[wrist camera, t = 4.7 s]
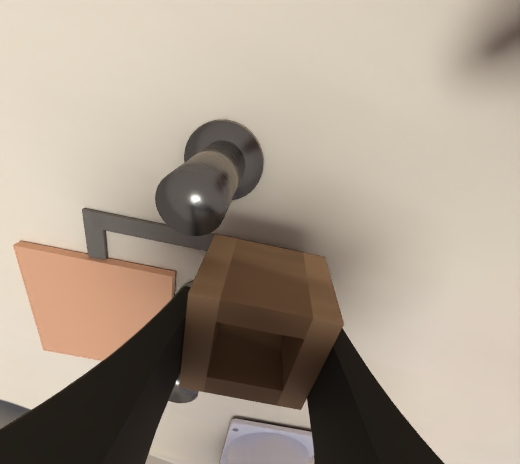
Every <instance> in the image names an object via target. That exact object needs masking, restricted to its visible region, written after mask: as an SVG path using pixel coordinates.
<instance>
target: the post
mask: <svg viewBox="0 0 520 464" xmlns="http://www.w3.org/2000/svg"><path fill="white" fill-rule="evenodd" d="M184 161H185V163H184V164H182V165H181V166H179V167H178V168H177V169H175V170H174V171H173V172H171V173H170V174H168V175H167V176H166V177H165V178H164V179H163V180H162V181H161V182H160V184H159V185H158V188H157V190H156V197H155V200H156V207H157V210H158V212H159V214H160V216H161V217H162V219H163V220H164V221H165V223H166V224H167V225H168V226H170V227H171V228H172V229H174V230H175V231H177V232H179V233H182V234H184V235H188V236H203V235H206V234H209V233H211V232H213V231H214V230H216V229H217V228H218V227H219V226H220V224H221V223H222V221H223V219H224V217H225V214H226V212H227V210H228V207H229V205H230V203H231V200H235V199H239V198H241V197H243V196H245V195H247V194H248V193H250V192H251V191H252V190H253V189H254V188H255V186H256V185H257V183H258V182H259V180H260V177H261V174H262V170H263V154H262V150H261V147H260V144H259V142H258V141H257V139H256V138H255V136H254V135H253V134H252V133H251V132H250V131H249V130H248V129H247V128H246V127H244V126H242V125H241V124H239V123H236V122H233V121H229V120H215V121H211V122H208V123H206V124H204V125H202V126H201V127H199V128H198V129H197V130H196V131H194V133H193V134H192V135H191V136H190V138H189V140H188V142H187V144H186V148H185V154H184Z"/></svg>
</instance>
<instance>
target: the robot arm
mask: <svg viewBox="0 0 520 464" xmlns="http://www.w3.org/2000/svg"><path fill="white" fill-rule="evenodd" d="M190 288H191V287H188V286H184V287H182V288H181V289H180V290H179V291H178V293H177V294H176V295H175V296H174V297H173V298H172V299H171V300H170V301H169V302H168V303H167V304H166V305H165V306H164V307H163V308H162V309H161V310H160V311H159V312H158V313H157V314H156V315H155V316H154V317H153V318H152V319H151V320H150V321H149V322H148V323H147V324H146V325H145V326H144V327H143V328H141V329H140V330H139V331H138V332H137V333H136V334H135V335H133V336H132V337H131V338H130V339H129V340H128V341H126V342H125V343H124V344H123V345H122V346H121V347H119V348H118V349H117V350H116V351H114V352H113V353H112V354H111V355H110V356H108V357H107V358H106V359H104V360H103V361H102V362H100V363H99V364H98V365H96V366H95V367H94V368H92V369H91V370H90V371H88V372H87V373H86V374H84V375H83V376H81V377H80V378H79V379H77V380H76V381H74V382H73V383H71V384H70V385H69V386H67V387H66V388H64V389H63V390H61V391H60V392H58V393H57V394H55V395H54V396H52V397H51V398H49V399H48V400H46V401H45V402H43V403H42V404H40V405H39V406H37V407H35V408H34V409H32V410H31V411H29V412H27V413H26V414H24V415H22V416H21V417H19V418H18V419H16V420H14V421H13V422H11V423H9V424H8V425H6V426H5V427H3V428H2V429H0V464H145V462H146V459H147V456H148V453H149V450H150V447H151V444H152V441H153V438H154V435H155V432H156V430H157V427H158V424H159V422H160V419H161V417H162V414H163V412H164V409H165V407H166V405H167V402H168V400H169V398H170V395H171V393H172V390H173V388H174V386H175V383H176V381H177V379H178V376H179V374H180V371H181V363H182V352H183V342H184V331H185V321H186V310H187V300H188V292H189V290H190ZM307 401H308V408H309V416H310V424H311V432H310V431H304V430H298V429H293V428H287V427H281V426H276V425H270V424H264V423H259V422H253V421H247V420H242V419H233V420H231V423H230V426H229V430H228V434H227V437H226V441H225V445H224V448H223V452H222V455H221V459H220V463H219V464H309V462H310V461H311V459H312V458H313V456H314V459H315V464H444V463H443V462H442V460H441V459H440V458H439V457H438V456H437V455H436V454H435V453H434V452H433V451H432V449H431V448H430V447H429V446H428V445H427V444H426V442H425V441H424V440H423V439H422V438H421V437H420V435H419V434H418V433H417V432H416V431H415V429H414V428H413V427H412V426H411V425H410V423H409V422H408V421H407V420H406V418H405V417H404V416H403V415H402V414H401V412H400V411H399V410H398V408H397V407H396V406H395V405H394V403H393V402H392V401H391V399H390V398H389V397H388V395H387V394H386V393H385V391H384V390H383V389H382V387H381V386H380V384H379V383H378V382H377V380H376V379H375V377H374V376H373V375H372V373H371V372H370V370H369V369H368V367H367V366H366V364H365V363H364V361H363V360H362V358H361V357H360V355H359V354H358V352H357V351H356V349H355V347H354V346H353V344H352V343H351V341H350V340H349V338H348V336H347V335H346V333H345V332H344V330H343V328H342V329H341V331H340V333H339V335H338V337H337V339H336V341H335V343H334V345H333V347H332V349H331V351H330V353H329V355H328V357H327V359H326V361H325V363H324V365H323V367H322V369H321V371H320V373H319V375H318V377H317V379H316V381H315V383H314V385H313V387H312V389H311V391H310V393H309V395H308V397H307Z"/></svg>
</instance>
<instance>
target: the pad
mask: <svg viewBox="0 0 520 464" xmlns="http://www.w3.org/2000/svg"><path fill="white" fill-rule="evenodd" d="M13 247H14V250H15V254H16V257H17V261H18V264H19V267H20V271H21V274H22V278H23V281H24V285H25V288H26V292H27V295H28V298H29V302H30V305H31V309H32V312H33V316H34V319H35V323H36V326H37V329H38V333H39V336H40V340H41V343H42V347H43V350H45V351H51V352H56V353H62V354H67V355H73V356H78V357H84V358H89V359H95V360H100V361H103V360H104V359H106V358H107V357H108V356H110V355H111V354H112V353H113V352H114V351H116V350H117V349H118V348H119V347H121V346H122V345H123V344H124V343H125V342H126V341H128V340H129V339H130V338H131V337H132V336H133V335H135V334H136V333H137V332H138V331H139V330H140V329H141V328H143V327H144V326H145V325H146V324H147V323H148V322H149V321H150V320H151V319H152V318H153V317H154V316H155V315H156V314H157V313H158V312H159V311H160V310H161V309H162V308H163V307H164V306H165V305H166V304H167V303H168V302H169V301H170V300H171V299H172V298H173V297H174V291H175V274H176V271H171V270H166V269H161V268H155V267H150V266H145V265H140V264H135V263H130V262H125V261H120V260H115V259H110V258H107V259H106V260H103V259H98V258H93V257H88V254H85V253H79V252H74V251H69V250H64V249H59V248H54V247H49V246H44V245H39V244H34V243H29V242H24V241H20V242H18V243H16V244H15V245H13Z"/></svg>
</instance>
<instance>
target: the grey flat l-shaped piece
mask: <svg viewBox="0 0 520 464" xmlns="http://www.w3.org/2000/svg"><path fill="white" fill-rule="evenodd" d="M82 213H83V220H84V228H85V235H86V243H87V250H88V257H93V258H98V259H103V260H106V259H107V258H108V255H107V244H106V233H105V231H110V232H115V233H120V234H125V235H130V236H135V237H140V238H145V239H150V240H155V241H160V242H165V243H170V244H175V245H180V246H185V247H190V248H195V249H200V250H205V251H208V249H209V246H210V244H211V242H212V240H213V238H214V234H206V235H203V236H188V235H184V234H182V233H179V232H177V231H175V230H174V229H172V228H171V227H170V226H168V225H165V224H160V223H155V222H150V221H145V220H140V219H136V218H131V217H126V216H121V215H116V214H111V213H106V212H101V211H96V210H92V209H87V208H84V209H82Z"/></svg>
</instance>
